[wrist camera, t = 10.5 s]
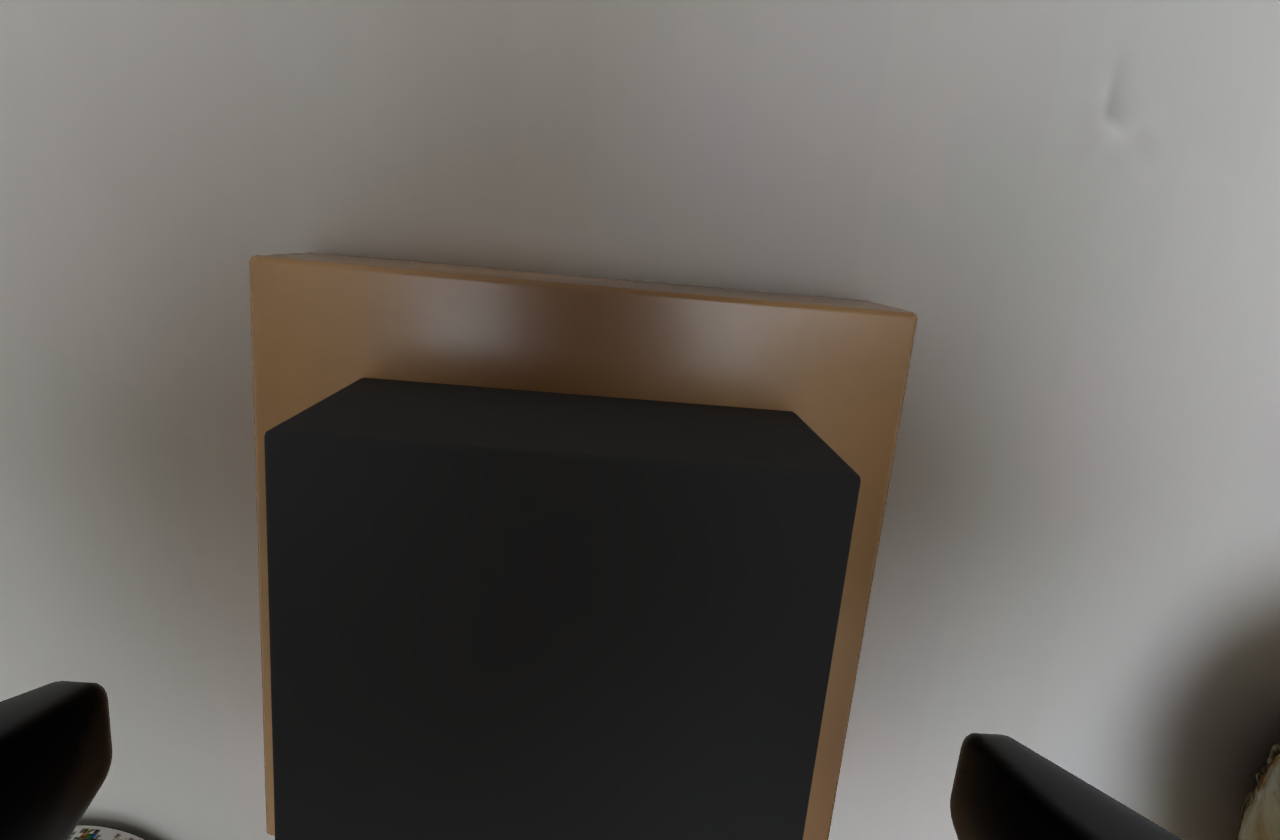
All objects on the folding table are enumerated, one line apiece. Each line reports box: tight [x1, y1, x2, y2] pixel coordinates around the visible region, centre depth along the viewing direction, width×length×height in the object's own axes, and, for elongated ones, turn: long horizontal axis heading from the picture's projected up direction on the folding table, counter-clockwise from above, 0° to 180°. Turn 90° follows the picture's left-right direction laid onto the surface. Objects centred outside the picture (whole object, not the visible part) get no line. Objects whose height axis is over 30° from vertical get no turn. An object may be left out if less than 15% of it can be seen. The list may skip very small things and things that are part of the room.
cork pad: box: [250, 253, 917, 840], centre depth 12 cm, size 9×9×2 cm
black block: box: [264, 378, 861, 840], centre depth 10 cm, size 6×6×3 cm
